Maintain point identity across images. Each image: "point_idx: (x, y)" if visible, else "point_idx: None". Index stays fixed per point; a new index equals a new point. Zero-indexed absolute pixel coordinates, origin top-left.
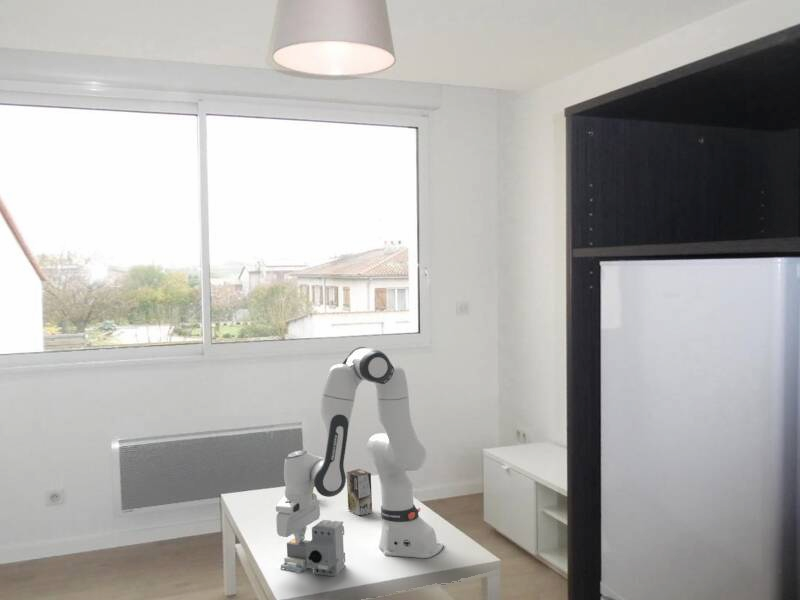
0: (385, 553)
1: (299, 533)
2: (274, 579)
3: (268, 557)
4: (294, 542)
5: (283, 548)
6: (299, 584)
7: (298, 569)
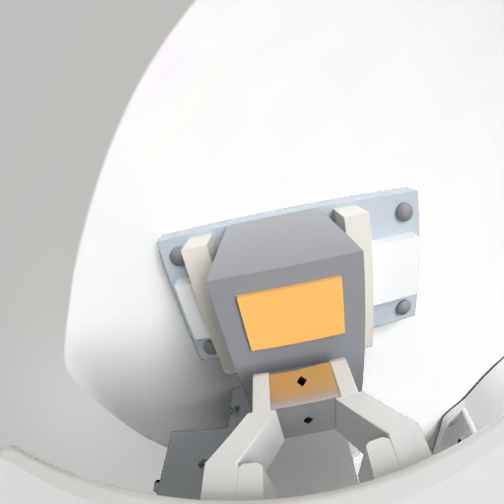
0: (446, 417)
1: (343, 406)
2: (85, 300)
3: (232, 39)
4: (261, 342)
5: (381, 30)
6: (139, 394)
7: (197, 345)
